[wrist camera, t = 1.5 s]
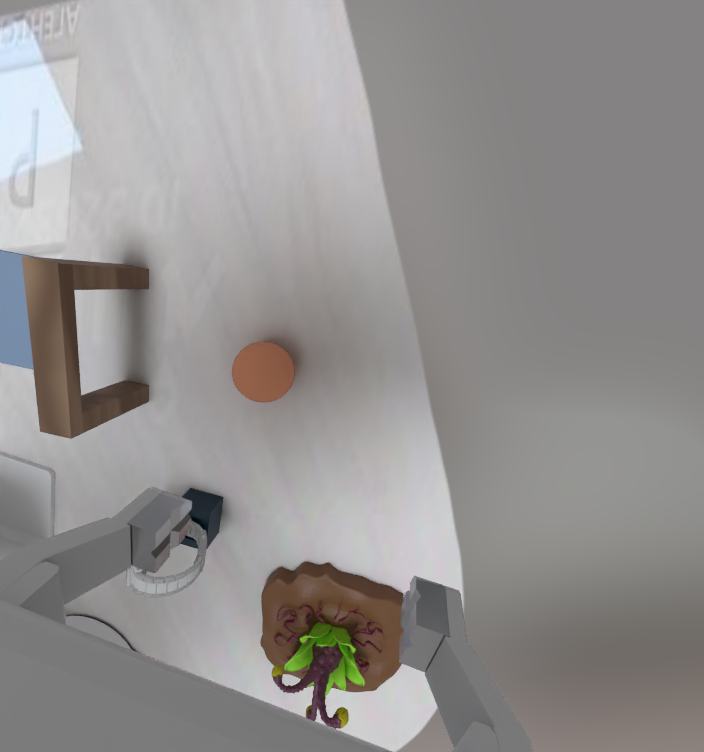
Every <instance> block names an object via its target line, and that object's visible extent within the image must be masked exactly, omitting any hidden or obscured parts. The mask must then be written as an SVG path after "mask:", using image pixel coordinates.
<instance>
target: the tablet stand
mask: <svg viewBox="0 0 704 752" xmlns="http://www.w3.org/2000/svg"><path fill="white" fill-rule="evenodd" d="M54 508H55V472H54V471H53V470H52V469H51V468H48V467H45V466H42V465H39V464H36V463H33V462H30V461H27V460H24V459H21V458H18V457H15V456H13V455H10V454H7V453H4V452H1V451H0V561H1V560H2V559H4V558H5V557H6V556H8V555H9V554H11V553H12V552H13V551H15V550H16V549H18V548H21V547H24V546H27V545H30V544H33V543H35V542H38V541H41V540H44V539H47V538H50V537H53V536H54Z"/></svg>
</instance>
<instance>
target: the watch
mask: <svg viewBox="0 0 704 752" xmlns="http://www.w3.org/2000/svg"><path fill="white" fill-rule="evenodd" d="M182 498H185V499H188V500H190V501H192V509H191V510H190V511H189V512H188V514H189V515H190V517H191V524H190V528H189V530H188V532H187V534H186V536H185V538H184V539H183V540H182V542H181V543H180V544H183V545H187V546H190V547H194V548H197V549H198V555H197V558H196V560H195V561H194V565H193V567H190V568H189V569H187V570H186V571H185V572H182V573H179V574H177V575H175V576H174V575H172V576H167V577H165V580H164V577H155V579H154V577H152V576H148V575H147V576H146V570H143V569H140V568H137V567H134V566H131V568H129V569H127V577H126V583H127V587H131V585H132V587H133V590H134V593H135V594H140V595H143V596H146V597H163V596H169V595H172V594H174V593H177V592H179V591H181V590H183V589H184V588H186V587H187V586H189V585H190V584H191V583H192V582H193V581H194V580H195V579H196V578H197V577H198V575H199V574H200V572H202V570H203V567H204V563H205V556H206V550H207V548H208V547H209V545H210V544H211V542H212V541H213V540H214V538H215V537H216V535H217V534H218V532H219V526H220V518H221V511H222V504H223V497H221V496H217V495H214V494H210V493H206V492H203V491H199V490H196V489H192V488H190V489H189V490H188V491H187V492H186V493H185V494H184V496H183V497H182ZM167 583H168V586H167ZM163 593H164V594H163Z"/></svg>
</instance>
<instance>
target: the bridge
mask: <svg viewBox="0 0 704 752" xmlns="http://www.w3.org/2000/svg"><path fill="white" fill-rule="evenodd" d="M22 265H23V274H24V284H25V293H26V302H27V312H28V321H29V331H30V340H31V349H32V359H33V368H34V378H35V387H36V396H37V406H38V415H39V425H40V432H45V433H49V434H53V435H58V436H62V437H66V438H74V437H76V436H78V435H80V434H82V433H84V432H86V431H88V430H90V429H92V428H94V427H97V426H99V425H101V424H103V423H105V422H107V421H109V420H111V419H113V418H115V417H117V416H120V415H122V414H124V413H126V412H128V411H130V410H132V409H134V408H136V407H138V406H140V405H143V404H145V403H147V402H149V386H148V385H143V384H139V383H134V382H129V381H125V380H124V381H121V382H119V383H116V384H113V385H110V386H107V387H105V388H102V389H99V390H96V391H93V392H91V393H88V394H85V395H82V396H81V388H80V373H79V357H78V342H77V327H76V311H75V296H74V290H98V289H149V269H144V268H139V267H134V266H128V265H123V264H112V263H100V262H87V261H75V260H62V259H50V258H37V257H25V256H22Z"/></svg>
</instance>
